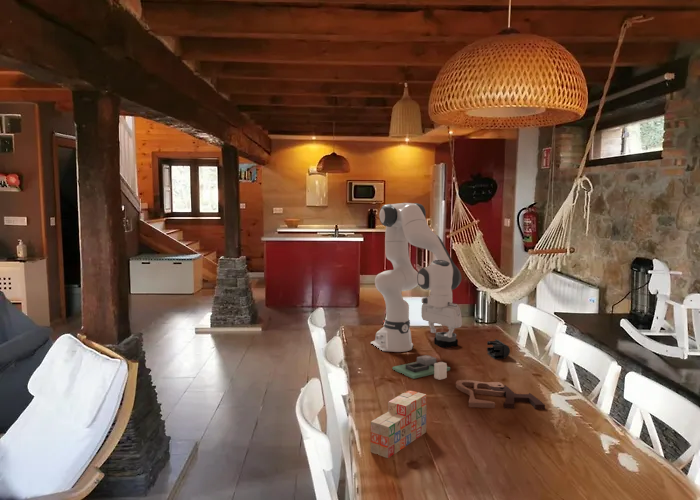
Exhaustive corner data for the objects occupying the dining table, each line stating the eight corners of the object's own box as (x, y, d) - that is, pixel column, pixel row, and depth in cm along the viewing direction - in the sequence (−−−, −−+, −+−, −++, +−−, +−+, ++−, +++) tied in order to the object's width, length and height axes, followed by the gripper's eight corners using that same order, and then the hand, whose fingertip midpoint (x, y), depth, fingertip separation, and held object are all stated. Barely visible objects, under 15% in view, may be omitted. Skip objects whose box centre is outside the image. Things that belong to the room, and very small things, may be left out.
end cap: (510, 359, 234) (510, 344, 234) (495, 359, 233) (495, 345, 233) (501, 352, 244) (501, 338, 243) (486, 353, 243) (486, 339, 243)
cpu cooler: (460, 335, 255) (442, 337, 252) (460, 346, 255) (442, 348, 252) (449, 330, 265) (432, 332, 261) (449, 341, 265) (432, 343, 262)
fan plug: (434, 377, 209) (434, 363, 209) (442, 375, 212) (442, 361, 211) (439, 379, 207) (439, 365, 206) (447, 377, 209) (447, 363, 209)
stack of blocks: (388, 459, 142) (388, 416, 141) (370, 452, 146) (369, 410, 145) (426, 432, 159) (426, 393, 158) (409, 427, 163) (409, 389, 162)
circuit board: (392, 369, 220) (392, 360, 219) (428, 361, 230) (428, 353, 230) (413, 378, 208) (413, 369, 207) (450, 370, 218) (450, 361, 218)
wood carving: (545, 410, 176) (528, 386, 200) (545, 404, 176) (528, 381, 199) (461, 408, 179) (454, 384, 202) (462, 402, 179) (455, 379, 202)
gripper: (465, 303, 199) (465, 338, 200) (430, 296, 216) (430, 329, 217) (453, 305, 196) (453, 341, 197) (418, 298, 213) (418, 331, 214)
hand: (441, 334), depth 207 cm, fingers open, 8 cm apart
